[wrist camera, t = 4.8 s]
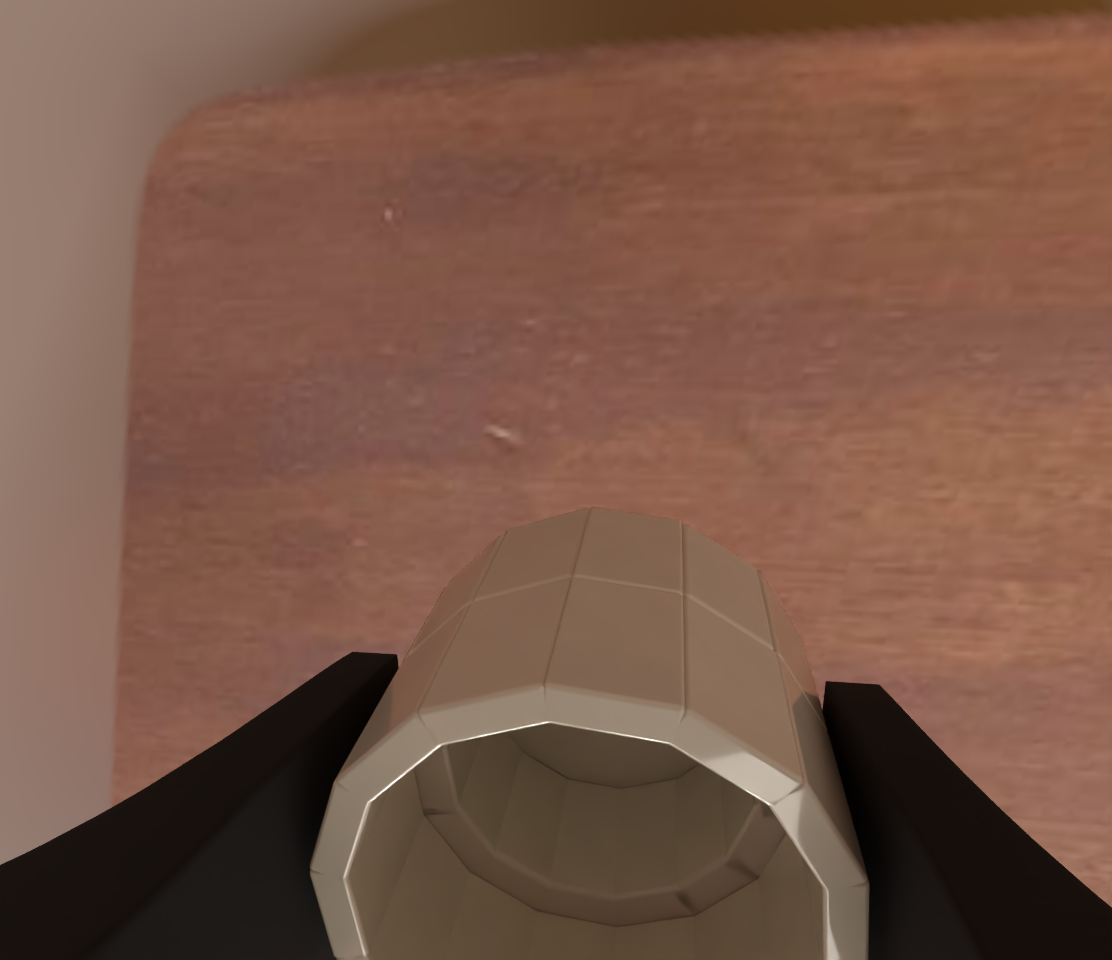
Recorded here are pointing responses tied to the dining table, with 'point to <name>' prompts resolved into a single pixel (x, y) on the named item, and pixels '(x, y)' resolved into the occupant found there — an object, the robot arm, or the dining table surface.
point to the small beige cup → (596, 767)
